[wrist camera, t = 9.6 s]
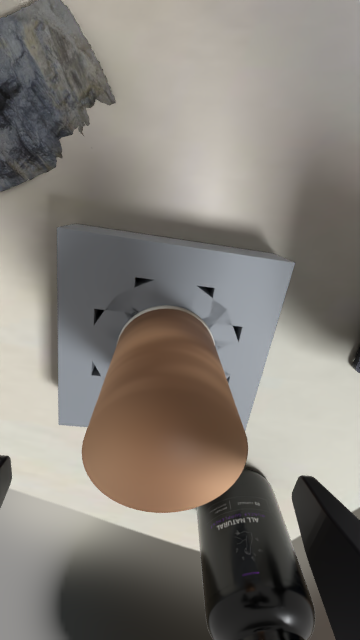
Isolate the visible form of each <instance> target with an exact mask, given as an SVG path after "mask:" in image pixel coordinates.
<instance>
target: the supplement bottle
mask: <svg viewBox="0 0 360 640" xmlns="http://www.w3.org/2000/svg"><path fill="white" fill-rule="evenodd" d="M197 519H198V531H199V543H200V555H201V566H202V579H203V591H204V603H205V614H206V621H207V627H208V630H209V632H210V634H211V636H212V638H213V640H309V639H310V637H311V635H312V633H313V630H314V625H315V610H314V605H313V602H312V599H311V596H310V593H309V590H308V587H307V584H306V581H305V579H304V576H303V573H302V570H301V568H300V565H299V562H298V559H297V556H296V553H295V551H294V548H293V545H292V542H291V539H290V536H289V534H288V531H287V528H286V525H285V522H284V520H283V517H282V514H281V511H280V508H279V505H278V503H277V500H276V497H275V495H274V492H273V489H272V487H271V485H270V484H269V482H268V481H267V480H266V479H265V478H264V477H263V476H262V475H260V474H258V473H256V472H254V471H251V470H247V469H243V471H242V473H241V474H240V476H239V478H238V479H237V480H236V481H235V483H234V484H233V485H232V486H231V487H230V488H229V489H228V490H227V491H226V492H224V493H223V494H222V495H220V496H219V497H217V498H216V499H214V500H212V501H210V502H208V503H206V504H204V505H201V506H199V507H197Z"/></svg>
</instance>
